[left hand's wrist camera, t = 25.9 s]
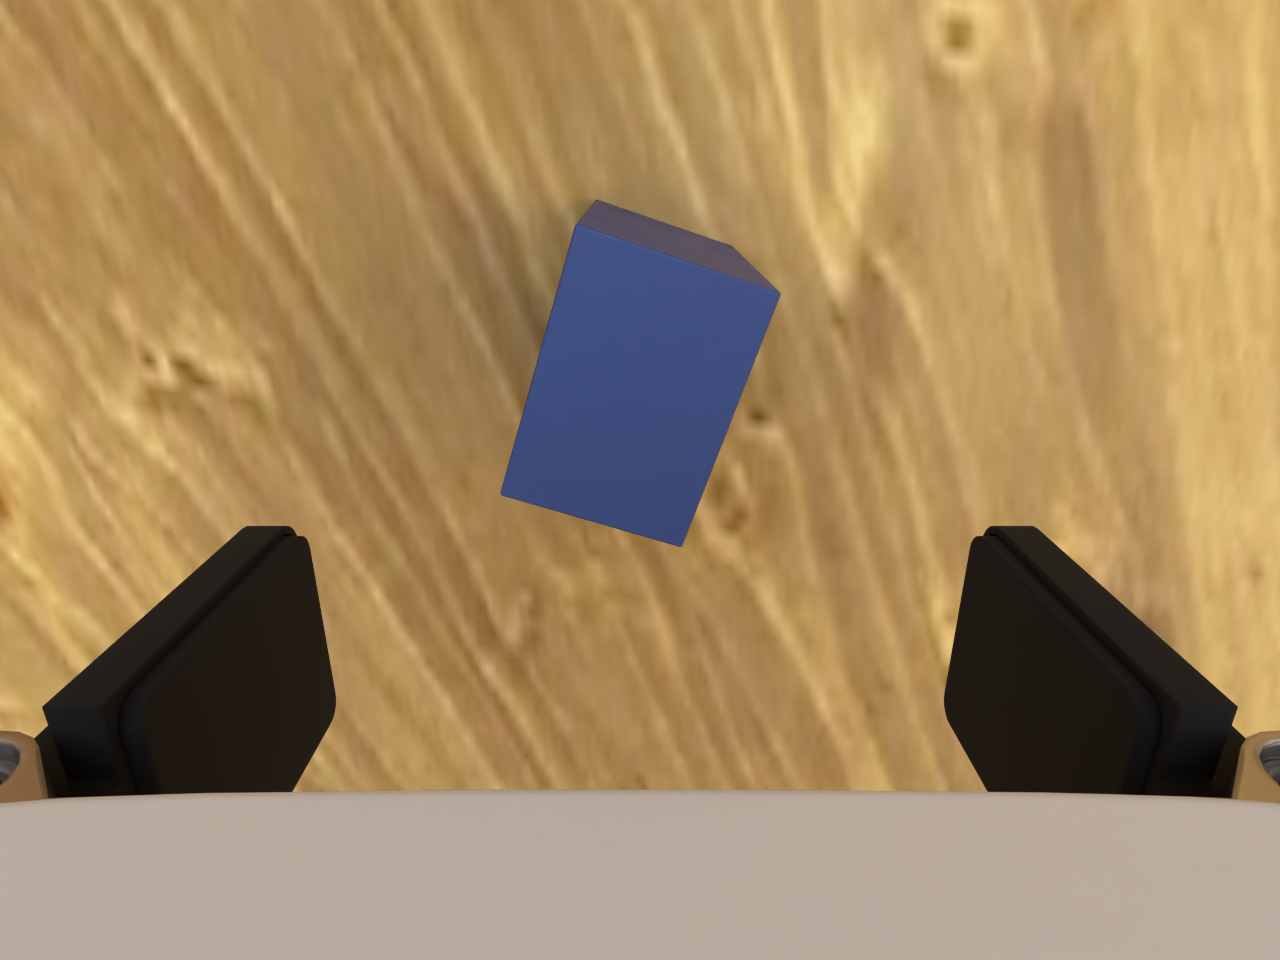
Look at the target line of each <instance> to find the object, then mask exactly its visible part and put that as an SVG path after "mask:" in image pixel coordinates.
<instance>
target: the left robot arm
mask: <svg viewBox="0 0 1280 960" xmlns="http://www.w3.org/2000/svg"><path fill="white" fill-rule="evenodd" d="M335 707H336V695H335V688H334V683H333V677H332V671H331V665H330V660H329V654H328V648H327V643H326V637H325V631H324V625H323V620H322V614H321V608H320V603H319V597H318V591H317V585H316V580H315V574H314V568H313V562H312V557H311V551H310V546H309V543H308V541H307V539H306V538H305V537H304V536H297V535H296V533H295V531H294V530H293V529H292V528H291V527H290V526H246V527H245V528H243V529H242V530H240V531H239V532H238V533H237V534H236V535H235V536H234V537H233V538H231V539H230V540H229V541H228V542H227V543H226V544H225V545H224V546H222V547H221V548H220V549H219V550H218V551H217V552H216V553H215V554H213V555H212V556H211V557H210V558H209V559H208V560H207V561H206V562H204V563H203V564H202V565H201V566H200V567H199V568H198V569H197V570H195V571H194V572H193V573H192V574H191V575H190V576H189V577H188V578H186V579H185V580H184V581H183V582H182V583H181V584H180V585H179V586H178V587H176V588H175V589H174V590H173V591H172V592H171V593H170V594H169V595H167V596H166V597H165V598H164V599H163V600H162V601H161V602H160V603H158V604H157V605H156V606H155V607H154V608H153V609H152V610H151V611H149V612H148V613H147V614H146V615H145V616H144V617H143V618H142V619H140V620H139V621H138V622H137V623H136V624H135V625H134V626H133V627H131V628H130V629H129V630H128V631H127V632H126V633H125V634H124V635H122V636H121V637H120V638H119V639H118V640H117V641H116V642H115V643H113V644H112V645H111V646H110V647H109V648H108V649H107V650H106V651H104V652H103V653H102V654H101V655H100V656H99V657H98V658H97V659H95V660H94V661H93V662H92V663H91V664H90V665H89V666H88V667H87V668H85V669H84V670H83V671H82V672H81V673H80V674H79V675H78V676H76V677H75V678H74V679H73V680H72V681H71V682H70V683H69V684H67V685H66V686H65V687H64V688H63V689H62V690H61V691H60V692H58V693H57V694H56V695H55V696H54V697H53V698H52V699H51V700H49V701H48V702H47V703H46V704H45V705H44V706H43V707H42V708H43V711H44V714H45V717H46V720H47V723H48V726H47V727H46V728H45V729H44V730H43V731H42V732H41V733H40V734H39V735H38V736H36V737H35V738H33V737H30V736H28V735H26V734H23V733H21V732H12V731H0V960H1280V731H1268V732H1259V733H1257V734H1254V735H1252V736H1250V737H1247V738H1245V737H1244V736H1242V735H1241V734H1240V733H1239V732H1238V731H1237V730H1236V729H1235V728H1234V727H1233V726H1232V723H1233V720H1234V717H1235V714H1236V711H1237V708H1238V707H1237V706H1236V705H1235V704H1234V703H1233V702H1232V701H1231V700H1229V699H1228V698H1227V697H1226V696H1225V695H1224V694H1223V693H1222V692H1220V691H1219V690H1218V689H1217V688H1216V687H1215V686H1214V685H1213V684H1211V683H1210V682H1209V681H1208V680H1207V679H1206V678H1205V677H1204V676H1202V675H1201V674H1200V673H1199V672H1198V671H1197V670H1196V669H1195V668H1193V667H1192V666H1191V665H1190V664H1189V663H1188V662H1187V661H1186V660H1185V659H1183V658H1182V657H1181V656H1180V655H1179V654H1178V653H1177V652H1176V651H1174V650H1173V649H1172V648H1171V647H1170V646H1169V645H1168V644H1167V643H1165V642H1164V641H1163V640H1162V639H1161V638H1160V637H1159V636H1158V635H1156V634H1155V633H1154V632H1153V631H1152V630H1151V629H1150V628H1149V627H1147V626H1146V625H1145V624H1144V623H1143V622H1142V621H1141V620H1140V619H1138V618H1137V617H1136V616H1135V615H1134V614H1133V613H1132V612H1131V611H1129V610H1128V609H1127V608H1126V607H1125V606H1124V605H1123V604H1122V603H1120V602H1119V601H1118V600H1117V599H1116V598H1115V597H1114V596H1113V595H1111V594H1110V593H1109V592H1108V591H1107V590H1106V589H1105V588H1104V587H1102V586H1101V585H1100V584H1099V583H1098V582H1097V581H1096V580H1095V579H1094V578H1092V577H1091V576H1090V575H1089V574H1088V573H1087V572H1086V571H1085V570H1083V569H1082V568H1081V567H1080V566H1079V565H1078V564H1077V563H1076V562H1074V561H1073V560H1072V559H1071V558H1070V557H1069V556H1068V555H1067V554H1065V553H1064V552H1063V551H1062V550H1061V549H1060V548H1059V547H1058V546H1056V545H1055V544H1054V543H1053V542H1052V541H1051V540H1050V539H1049V538H1047V537H1046V536H1045V535H1044V534H1043V533H1042V532H1041V531H1040V530H1038V529H1037V528H1035V527H1034V526H990V527H989V528H988V529H987V530H986V531H985V533H984V535H983V536H976V537H975V538H974V539H973V541H972V543H971V546H970V551H969V557H968V562H967V568H966V574H965V580H964V585H963V591H962V597H961V603H960V608H959V614H958V620H957V625H956V631H955V637H954V643H953V648H952V654H951V660H950V665H949V671H948V677H947V683H946V688H945V695H944V707H945V713H946V716H947V719H948V722H949V724H950V726H951V727H952V729H953V731H954V733H955V734H956V736H957V738H958V740H959V742H960V743H961V745H962V747H963V749H964V750H965V752H966V754H967V756H968V758H969V759H970V761H971V763H972V765H973V766H974V768H975V770H976V772H977V774H978V775H979V777H980V779H981V781H982V782H983V784H984V786H985V788H986V789H987V791H988V792H930V791H817V790H439V791H350V792H292V791H293V789H294V788H295V786H296V784H297V782H298V781H299V779H300V777H301V775H302V774H303V772H304V770H305V768H306V766H307V765H308V763H309V761H310V759H311V758H312V756H313V754H314V752H315V750H316V749H317V747H318V745H319V743H320V742H321V740H322V738H323V736H324V734H325V733H326V731H327V729H328V727H329V726H330V724H331V722H332V719H333V716H334V713H335Z"/></svg>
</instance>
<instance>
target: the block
mask: <svg viewBox="0 0 1280 960" xmlns="http://www.w3.org/2000/svg"><path fill="white" fill-rule="evenodd" d="M779 297H780V292H779V291H778V290H777V289H776V288H775V287H774V286H773V285H772V284H771V283H770V282H769V281H768V280H767V279H765V278H764V277H763V276H762V275H761V274H760V273H759V272H758V271H757V270H756V269H755V268H754V267H753V266H752V265H751V264H750V263H749V262H748V261H747V260H746V259H745V258H744V257H743V256H742V255H741V254H740V253H739V252H738V251H737V250H736V249H735V248H734V247H732V246H730V245H727V244H724V243H721V242H718V241H715V240H713V239H710V238H707V237H704V236H701V235H698V234H695V233H692V232H689V231H686V230H683V229H681V228H678V227H675V226H672V225H669V224H666V223H663V222H660V221H657V220H654V219H651V218H649V217H646V216H643V215H640V214H637V213H634V212H631V211H628V210H625V209H622V208H619V207H617V206H614V205H611V204H608V203H605V202H602V201H599V200H596V201H595V202H594V203H593V205H592V206H591V207H590V208H589V209H588V211H587V212H586V213H585V214H584V215H583V217H582V218H581V219H580V220H579V222H578V223H577V224H576V225H575V228H574V232H573V235H572V239H571V242H570V246H569V250H568V253H567V257H566V260H565V264H564V268H563V271H562V275H561V278H560V282H559V285H558V289H557V293H556V296H555V300H554V303H553V307H552V310H551V314H550V318H549V321H548V325H547V328H546V332H545V335H544V339H543V343H542V346H541V350H540V353H539V357H538V360H537V364H536V368H535V371H534V375H533V378H532V382H531V386H530V389H529V393H528V396H527V400H526V403H525V407H524V411H523V414H522V418H521V421H520V425H519V428H518V432H517V436H516V439H515V443H514V446H513V450H512V453H511V457H510V461H509V464H508V468H507V471H506V475H505V478H504V482H503V486H502V489H501V495H502V496H506V497H509V498H512V499H516V500H519V501H523V502H526V503H530V504H533V505H537V506H540V507H544V508H547V509H551V510H554V511H558V512H561V513H564V514H568V515H571V516H575V517H578V518H582V519H585V520H589V521H592V522H596V523H599V524H603V525H606V526H609V527H613V528H616V529H620V530H623V531H627V532H630V533H634V534H637V535H641V536H644V537H648V538H651V539H655V540H658V541H661V542H665V543H668V544H672V545H675V546H679V547H681V546H682V545H683V543H684V540H685V538H686V535H687V533H688V530H689V527H690V525H691V522H692V520H693V517H694V515H695V512H696V510H697V507H698V504H699V502H700V499H701V497H702V494H703V492H704V489H705V487H706V484H707V481H708V479H709V476H710V474H711V471H712V469H713V466H714V464H715V461H716V458H717V456H718V453H719V451H720V448H721V446H722V443H723V441H724V438H725V435H726V433H727V430H728V428H729V425H730V423H731V420H732V417H733V415H734V412H735V410H736V407H737V405H738V402H739V400H740V397H741V394H742V392H743V389H744V387H745V384H746V382H747V379H748V377H749V374H750V371H751V369H752V366H753V364H754V361H755V359H756V356H757V354H758V351H759V348H760V346H761V343H762V341H763V338H764V336H765V333H766V331H767V328H768V325H769V323H770V320H771V318H772V315H773V313H774V310H775V308H776V305H777V302H778V300H779Z"/></svg>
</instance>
